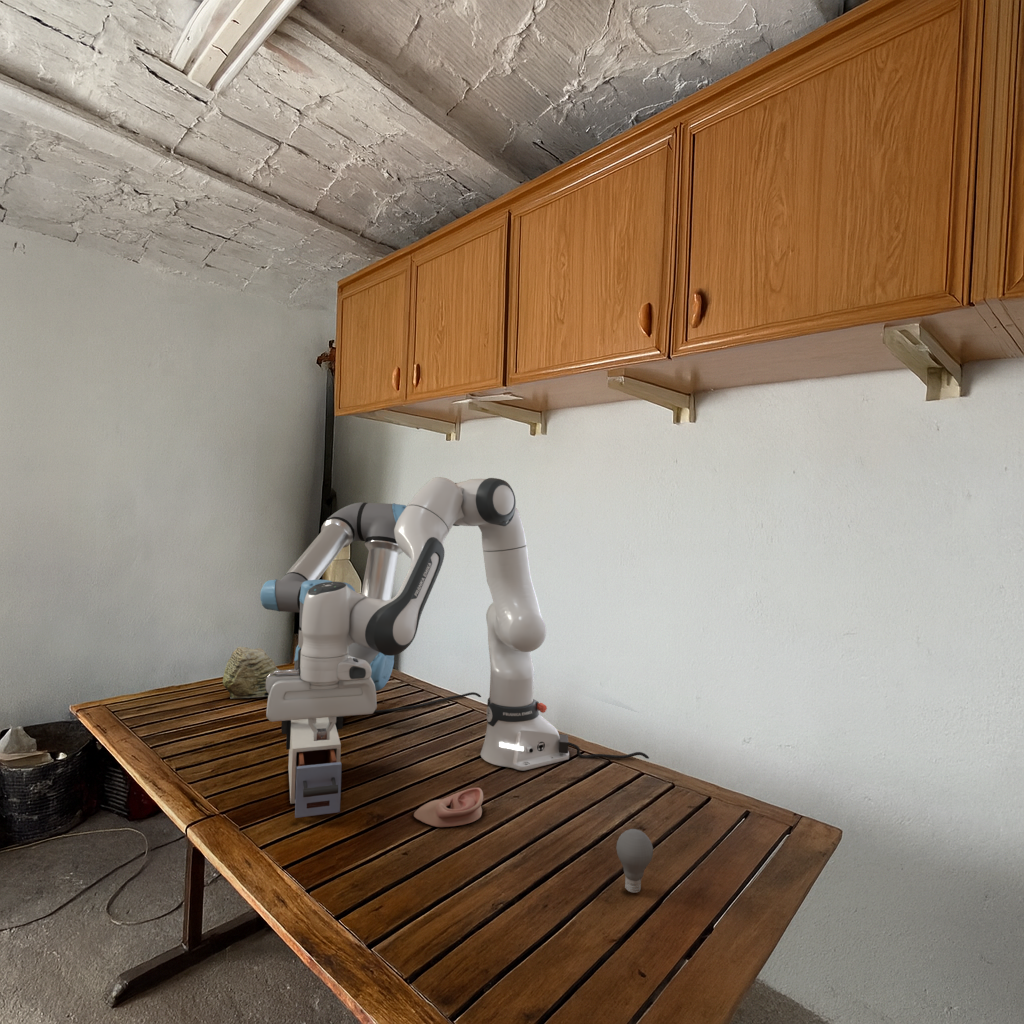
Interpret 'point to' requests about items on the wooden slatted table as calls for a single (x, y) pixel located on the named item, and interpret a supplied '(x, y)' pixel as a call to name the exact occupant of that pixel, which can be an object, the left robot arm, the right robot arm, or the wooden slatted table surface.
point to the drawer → (317, 783)
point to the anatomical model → (452, 809)
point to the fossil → (248, 673)
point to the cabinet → (308, 746)
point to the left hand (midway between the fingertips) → (311, 745)
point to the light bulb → (634, 857)
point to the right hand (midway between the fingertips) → (321, 739)
